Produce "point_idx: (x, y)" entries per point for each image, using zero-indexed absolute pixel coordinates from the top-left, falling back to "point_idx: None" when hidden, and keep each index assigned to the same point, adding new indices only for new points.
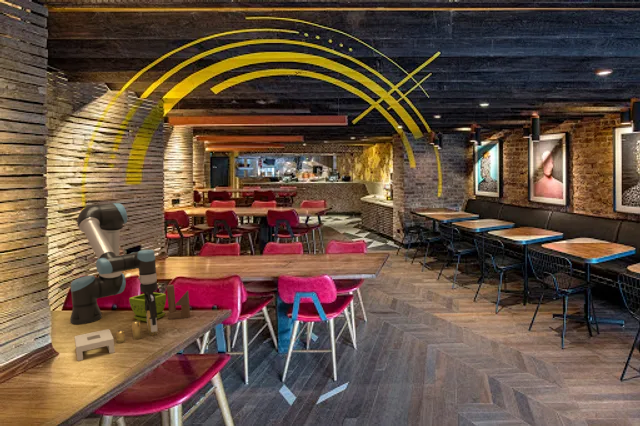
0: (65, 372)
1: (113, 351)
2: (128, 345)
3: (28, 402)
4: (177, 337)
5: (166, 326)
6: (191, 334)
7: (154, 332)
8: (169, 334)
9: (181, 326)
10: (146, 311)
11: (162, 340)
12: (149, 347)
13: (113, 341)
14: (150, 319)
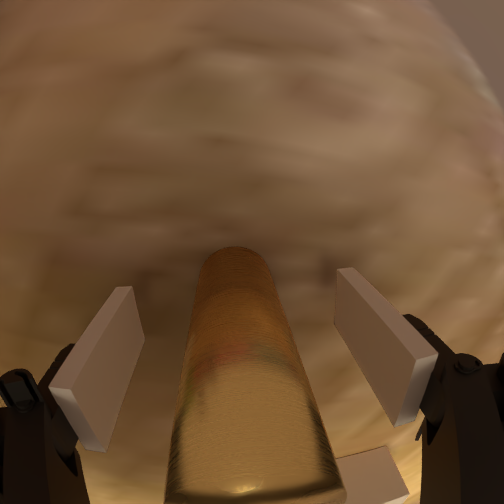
0: (412, 495)
1: (386, 452)
2: (347, 415)
3: None
4: (438, 114)
5: (67, 141)
6: (429, 18)
7: (272, 280)
8: (332, 144)
9: (162, 11)
10: (78, 472)
11: (428, 227)
12: (466, 313)
13: (404, 484)
14: (410, 413)
